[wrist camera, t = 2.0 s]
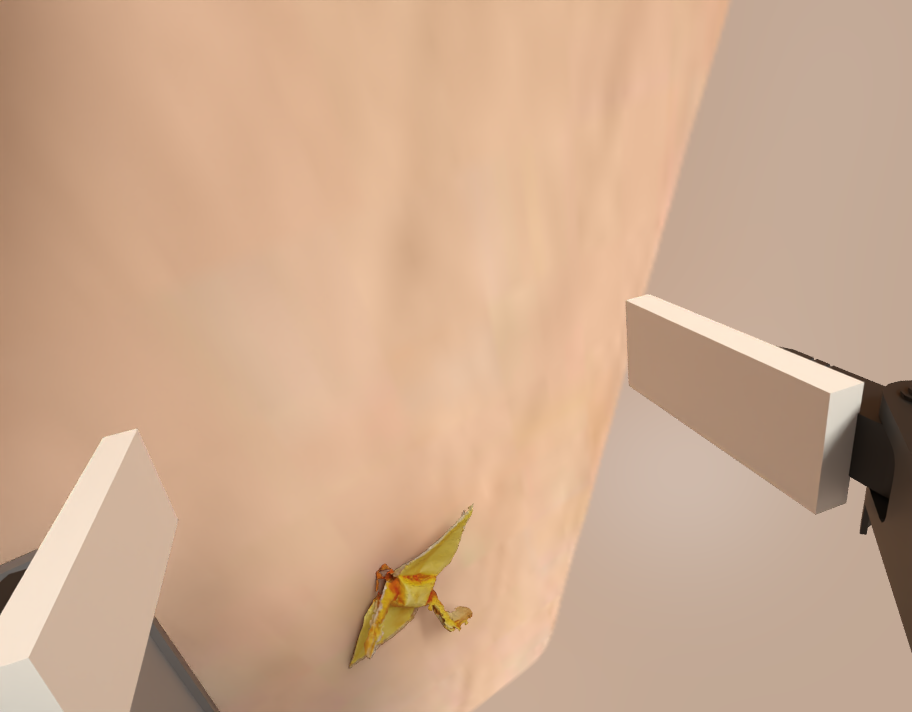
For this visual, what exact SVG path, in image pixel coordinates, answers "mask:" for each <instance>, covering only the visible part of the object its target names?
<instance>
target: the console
mask: <svg viewBox="0 0 912 712" xmlns="http://www.w3.org/2000/svg"><path fill="white" fill-rule="evenodd" d="M37 551H38V549H37V550H34V551H32V552H30V553H28V554H25V555H23V556H21V557H19V558H16V559H14V560H12V561H10V562H7V563H5V564H3V565H1V566H0V582H1V581H2V580H3V579H4V578H5V577H6V576H7V575H8V574H11V573H14V572H18V571H21V570H24V569H27V568H28V566H29V565H30V563H31V561H32V559H33V558H34V556H35V554H36V552H37ZM130 712H219V710H218V709H217V707H216V706H215V704H214V703H213V701H212V700H211V698H210V697H209V695H208V694H207V693H206V691H205V690H204V688H203V687H202V685H201V684H200V682H199V681H198V679H197V678H196V676H195V675H194V674H193V672H192V671H191V669H190V668H189V666H188V665H187V663H186V662H185V660H184V659H183V657H182V656H181V655H180V653H179V652H178V650H177V649H176V647H175V646H174V644H173V643H172V641H171V640H170V638H169V637H168V636H167V634H166V633H165V631H164V630H163V628H162V627H161V625H160V624H159V622H158V621H157V619H156V618H155V617H154V618H153V622H152V626H151V630H150V634H149V637H148V641H147V645H146V649H145V653H144V657H143V661H142V665H141V669H140V673H139V677H138V681H137V685H136V689H135V693H134V696H133V700H132V704H131V708H130Z"/></svg>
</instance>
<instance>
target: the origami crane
mask: <svg viewBox="0 0 912 712" xmlns="http://www.w3.org/2000/svg"><path fill="white" fill-rule="evenodd" d="M468 509H469V510H468V511H467V512H466V513H465V510H464V511H463V513H462V517H461V518H460V519H459V520H458V521H457V522H456V523H455V524H454V525H453V526H452V527H451V528H450V529H449V530H448V531H447V532H446V533H445V535H443V536H442V537H441V538H440V539H439V540H438V541H437V542H435V543H434V544H433V545H431V546H430V547H429V548H428V550H426V551H425V552H423V553H422V554H421V555H420V556H418V557H416V558H415V559H413V560H412V561H410V562H408V563H407V564H404V565H402V566H401V567H400V568H398V569H395V571H393V570H392V569H391V568H388V566H387V565H386V564H383V565H382V566H381V568H380V569H379V570H378V571H377V572H376V575H377V580H376V583H377V584H376V591H377V590H378V585H379V581H378V579H385V580H386V584H385V586H384V589H383V593H382V594H380V595H379V592H378V595H377V596H376V598H375V599H374V600H373V602H372V604H371V605H370V607H369V609H368V611H367V613H366V615H365V616H364V622H363V625H362V626H363V627H362V629H361V631H360V635H359V637H358V640H357V643H356V645H357V646H356V647H355V651H354V657H353V659H351V660H352V661H351V662H350V665H349V668H351V667H352V666H353V665H354V664H357V663H358V662H359V661H360V660H363V659H364V658H365V657H367V658H369V659H370V658H372V656H373V654H374V653H375V652H376V651H375V650H377V649H378V648H379V646H380V645H382V644H383V643H384V642H386V641H387V640H389V639H391V638H392V637H394V636H395V635H396V633H398V632H399V631H400V630H402V629H403V628H404V627H405V626H406V625H407V624H408V623H409V622H410V621H411V620H412V619H413V618H414V616H415V614H416V611H417V610H418V608H419V607H422V606H426V605H429V607H428V610H430V611H434V613H435V615H436V616H437V617H438V619H439V620H440V622H441V623H442V625H443V627H444V628H445V629H447V630H448V631H450V632H452V631H454V630H455V628H457V629H458V630H459V631H460V629H461V628H462V627H461V628H460V626H461V624H462V623H464V622H465V625H466V624H468V622H467V619H468V618H471V617H472V611H471V610H470V609H469V608H467V607H461V606H460V607H457V608H455V609H456V611H453V612H452V613H449V612H448V611H445V610H444V606H443V604H442V603H441V602H440V601H439V600H438V597H437V594H436V592H435V591H434V590H433V587H434V585H435V581H436V576H437V575H438V574H439V573H440V572H441V571H442V570H443V568H444V567H446V566H447V565H448V564H449V563H450V562H451V560H452V558H453V556H454V554H455V553H456V551H457V549H458V546H459V545H458V544H459V542H460V540H461V535H462V532H463V531H464V529H465V525H466V523H467V522H468V520H469V518H470V516H471V515H472V511H473V504H472V505H471V506H469V507H468ZM385 569H389V570H390V571H389V572H387V574H386V575H385V577H383V576H382V574H381V573H379V572H380V571H382V570H385ZM432 608H433V610H432Z"/></svg>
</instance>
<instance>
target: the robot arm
mask: <svg viewBox="0 0 912 712" xmlns="http://www.w3.org/2000/svg"><path fill="white" fill-rule="evenodd" d="M626 325H627V352H628V379H629V386H630V387H632V388H633V389H634V390H636V391H637V392H639V393H640V394H642V395H643V396H645V397H646V398H647V399H649V400H650V401H652V402H653V403H655V404H656V405H658V406H659V407H661V408H662V409H663V410H665V411H666V412H668V413H669V414H671V415H672V416H673V417H675V418H677V419H678V420H679V421H681V422H682V423H684V424H685V425H686V426H688V427H690V428H691V429H693V430H694V431H695V432H697V433H698V434H700V435H701V436H702V437H704V438H705V439H707V440H708V441H710V442H711V443H713V444H714V445H716V446H717V447H718V448H720V449H721V450H723V451H724V452H726V453H727V454H728V455H730V456H731V457H733V458H734V459H736V460H737V461H739V462H740V463H741V464H743V465H745V466H746V467H748V468H749V469H750V470H752V471H753V472H754V473H756V474H757V475H759V476H760V477H762V478H763V479H765V480H766V481H768V482H769V483H770V484H772V485H773V486H775V487H776V488H778V489H779V490H781V491H782V492H783V493H785V494H786V495H788V496H789V497H791V498H792V499H794V500H795V501H796V502H798V503H799V504H801V505H802V506H804V507H805V508H807V509H808V510H809V511H811V512H813V513H814V514H815V515H816V514H818V513H821V512H824V511H826V510H829V509H832V508H834V507H837V506H840V505H842V504H845V503H846V500H847V494H848V487H849V481H850V477H851V478H853V479H855V480H857V481H858V482H860V483H862V484H863V485H865V486H867V488H866V494H865V501H864V507H863V513H862V519H861V525H860V534H865V535H866V534H867V528H868V527H869V526H870V525H872V528H873V531H874V534H875V538H876V541H877V544H878V547H879V550H880V553H881V556H882V560H883V563H884V566H885V569H886V572H887V576H888V579H889V582H890V585H891V588H892V591H893V595H894V598H895V601H896V604H897V607H898V610H899V614H900V616H901V620H902V623H903V626H904V629H905V633H906V636H907V639H908V642H909V645H910V648H911V652H912V380H911V381H898V382H894V383H891V384H888V385H887V386H883V385H880V384H878V383H875V382H873V381H870V380H868V379H865V378H863V377H860V376H858V375H855V374H853V373H850V372H848V371H845V370H843V369H840V368H838V367H835V366H830V364H828V363H826V362H823V361H821V360H818V359H816V360H814V358H813V357H810V356H808V355H806V354H803V353H801V352H798V351H796V350H793V349H788V348H782V347H778V346H774V345H772V344H769V343H767V342H764V341H762V340H760V339H757V338H755V337H752V336H750V335H747V334H745V333H742V332H740V331H738V330H735V329H733V328H730V327H728V326H725V325H723V324H721V323H718V322H716V321H713V320H711V319H708V318H706V317H703V316H701V315H699V314H696V313H694V312H691V311H689V310H686V309H684V308H682V307H679V306H677V305H674V304H672V303H669V302H667V301H664V300H662V299H660V298H657V297H655V296H652V295H650V294H648V295H644V296H640V297H636V298H632V299H629V300H626ZM177 523H178V518H177V516H176V514H175V511H174V509H173V507H172V505H171V502H170V500H169V498H168V496H167V493H166V491H165V489H164V486H163V484H162V482H161V480H160V477H159V475H158V473H157V471H156V468H155V466H154V464H153V462H152V459H151V457H150V455H149V453H148V450H147V448H146V446H145V444H144V441H143V439H142V437H141V434H140V432H139V430H138V428H137V429H133V430H129V431H126V432H122V433H118V434H114V435H110V436H107V437H103V438H102V440H101V442H100V444H99V445H98V447H97V449H96V451H95V452H94V454H93V456H92V457H91V459H90V461H89V463H88V464H87V466H86V468H85V470H84V471H83V473H82V475H81V476H80V478H79V480H78V482H77V483H76V485H75V487H74V489H73V490H72V492H71V494H70V495H69V497H68V499H67V501H66V502H65V504H64V506H63V508H62V509H61V511H60V513H59V514H58V516H57V518H56V520H55V521H54V523H53V525H52V527H51V528H50V530H49V532H48V533H47V535H46V537H45V539H44V540H43V542H42V544H41V546H40V547H39V549H38V551H37V552H36V554H35V556H34V558H33V559H32V561H31V563H30V565H29V566H28V568H27V569H24V570H21V571H18V572H14V573H11V574H8V575H7V576H6V577H5V578H4V579H3V580H2V581H1V582H0V712H130V708H131V704H132V700H133V696H134V693H135V689H136V685H137V681H138V677H139V673H140V669H141V665H142V661H143V657H144V653H145V649H146V645H147V641H148V637H149V634H150V630H151V626H152V622H153V618H154V614H155V610H156V606H157V602H158V598H159V594H160V590H161V586H162V582H163V578H164V575H165V571H166V567H167V563H168V559H169V555H170V551H171V547H172V543H173V539H174V535H175V531H176V527H177Z"/></svg>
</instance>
